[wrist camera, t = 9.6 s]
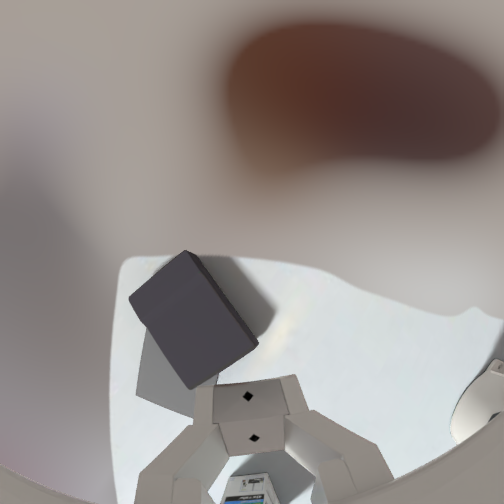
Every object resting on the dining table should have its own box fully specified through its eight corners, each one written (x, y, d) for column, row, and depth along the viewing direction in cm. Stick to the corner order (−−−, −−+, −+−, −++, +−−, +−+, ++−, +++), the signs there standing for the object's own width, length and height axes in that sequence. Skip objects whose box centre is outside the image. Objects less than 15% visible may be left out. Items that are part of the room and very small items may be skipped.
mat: (233, 310, 36) (233, 310, 36) (206, 421, 34) (206, 422, 34) (156, 287, 38) (155, 287, 38) (136, 394, 36) (135, 394, 36)
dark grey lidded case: (261, 342, 35) (197, 254, 38) (256, 348, 30) (185, 248, 34) (198, 384, 35) (142, 298, 38) (187, 393, 31) (126, 298, 34)
